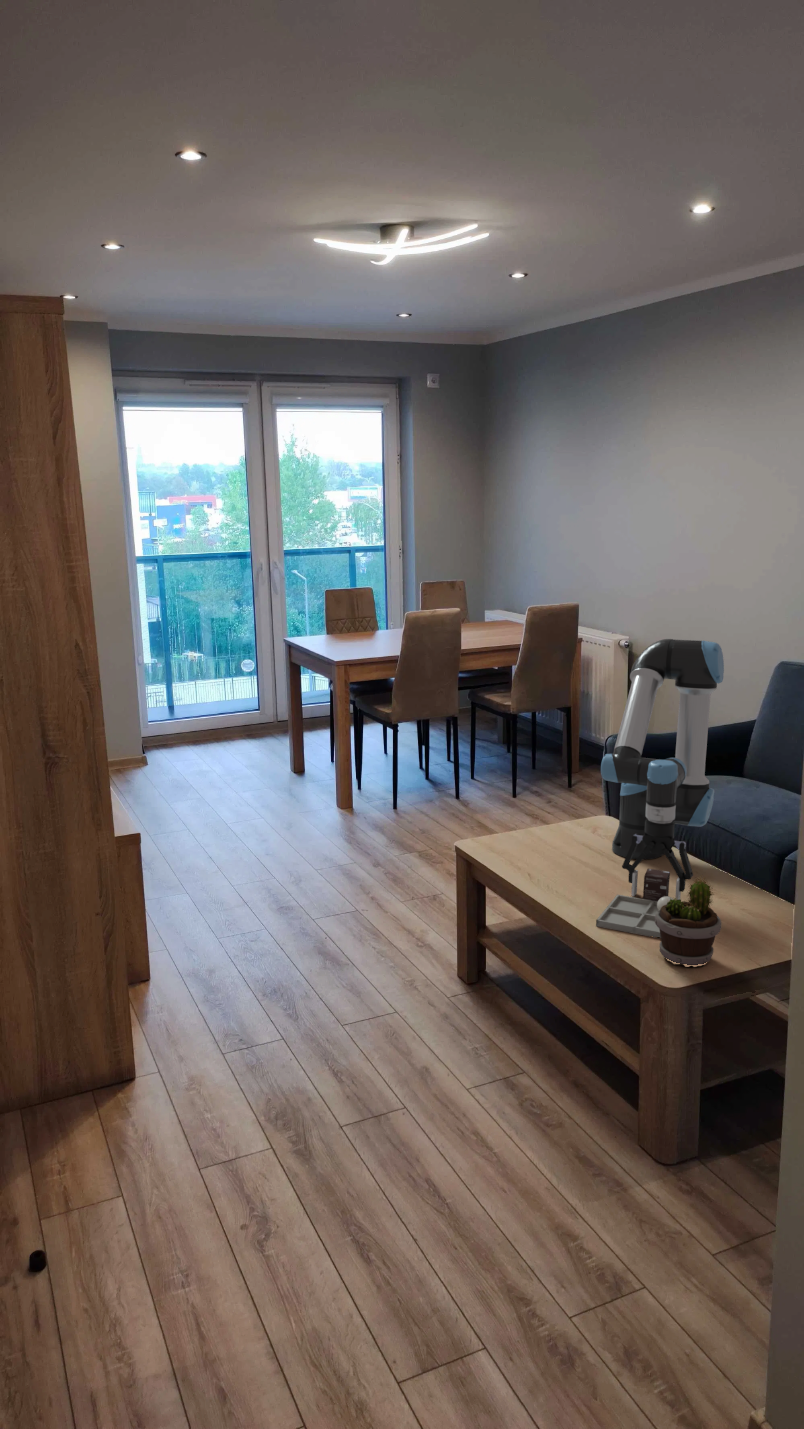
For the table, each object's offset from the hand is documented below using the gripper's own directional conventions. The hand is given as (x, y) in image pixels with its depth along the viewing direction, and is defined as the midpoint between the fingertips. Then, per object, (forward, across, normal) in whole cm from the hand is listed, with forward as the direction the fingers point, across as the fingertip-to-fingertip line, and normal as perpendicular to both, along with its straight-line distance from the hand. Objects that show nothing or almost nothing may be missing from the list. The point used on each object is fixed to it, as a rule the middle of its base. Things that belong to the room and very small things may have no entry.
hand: (655, 898), depth 269 cm
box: (0, 0, 0) cm, 0 cm away
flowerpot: (0, +15, -33) cm, 36 cm away
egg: (0, +5, -10) cm, 12 cm away
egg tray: (0, +1, -15) cm, 15 cm away
